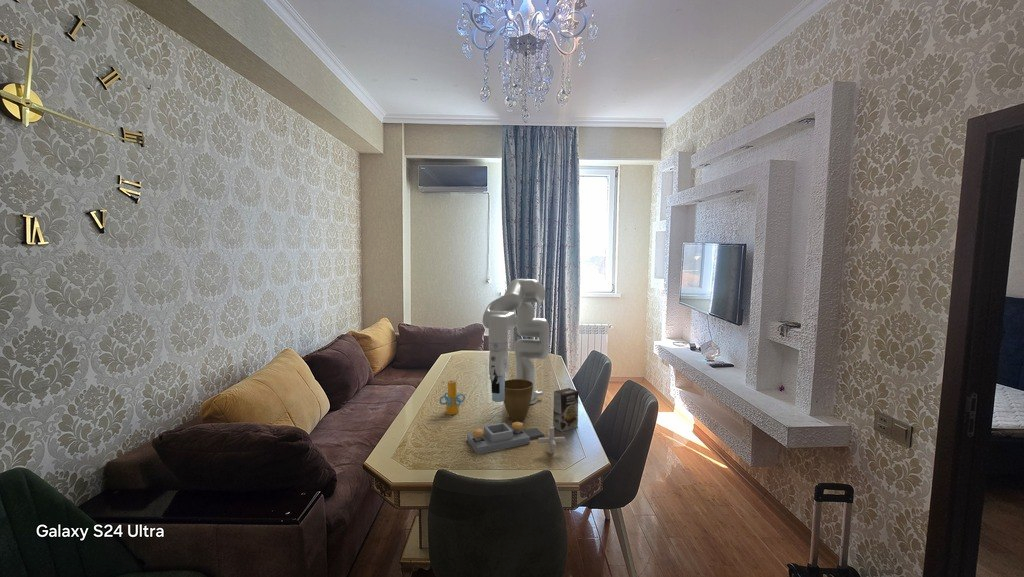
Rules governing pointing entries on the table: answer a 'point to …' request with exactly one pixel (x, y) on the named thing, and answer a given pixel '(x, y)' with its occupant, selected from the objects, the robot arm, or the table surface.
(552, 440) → the pipe connector
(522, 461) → the table surface
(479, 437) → the orange rounded knob
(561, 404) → the coffee box
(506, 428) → the housing
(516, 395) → the plant pot
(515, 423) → the light orange ball
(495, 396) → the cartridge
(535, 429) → the mat
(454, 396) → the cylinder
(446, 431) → the table surface
